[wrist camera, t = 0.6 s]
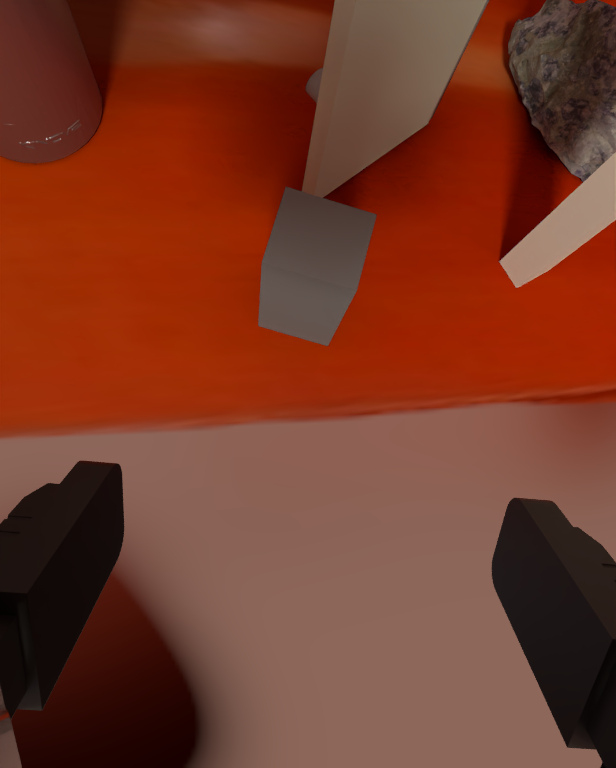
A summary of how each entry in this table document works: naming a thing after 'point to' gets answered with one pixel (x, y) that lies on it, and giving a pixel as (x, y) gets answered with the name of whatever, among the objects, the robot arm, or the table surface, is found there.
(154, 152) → the table surface
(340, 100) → the door
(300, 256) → the block
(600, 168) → the door frame
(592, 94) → the mineral rock
